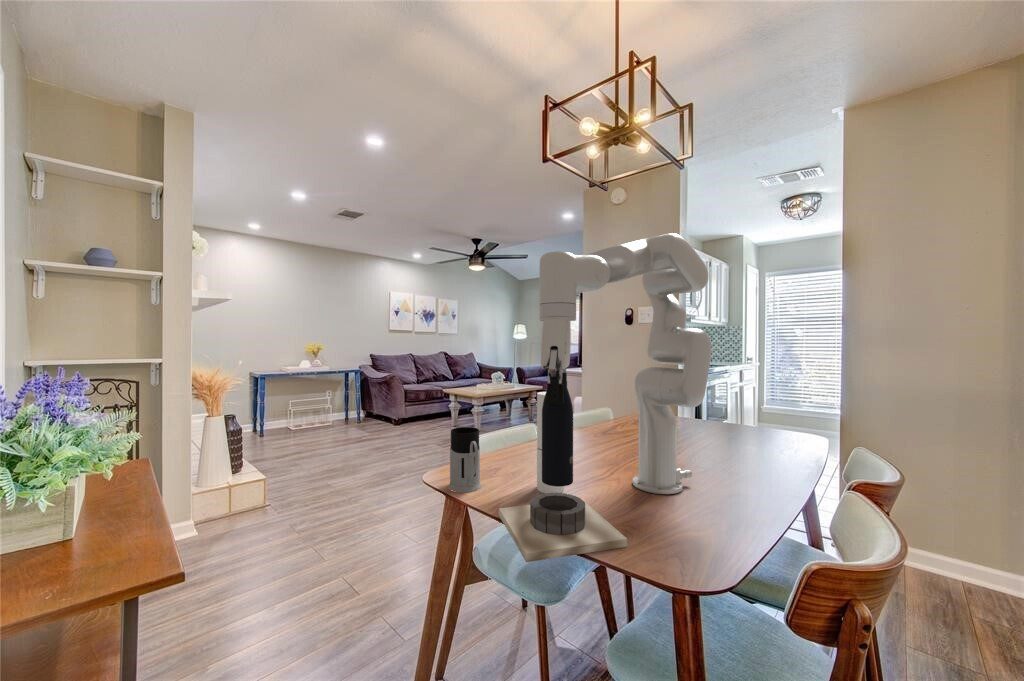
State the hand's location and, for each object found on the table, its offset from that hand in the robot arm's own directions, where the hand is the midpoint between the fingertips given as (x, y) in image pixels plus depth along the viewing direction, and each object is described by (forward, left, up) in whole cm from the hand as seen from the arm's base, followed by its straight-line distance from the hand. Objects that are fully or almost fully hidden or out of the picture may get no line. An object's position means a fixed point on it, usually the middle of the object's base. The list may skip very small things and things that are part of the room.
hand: (557, 401), depth 84 cm
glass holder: (+14, -27, -27) cm, 40 cm away
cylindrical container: (-7, -22, -27) cm, 35 cm away
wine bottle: (0, 0, -17) cm, 17 cm away
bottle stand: (0, 0, -26) cm, 26 cm away
